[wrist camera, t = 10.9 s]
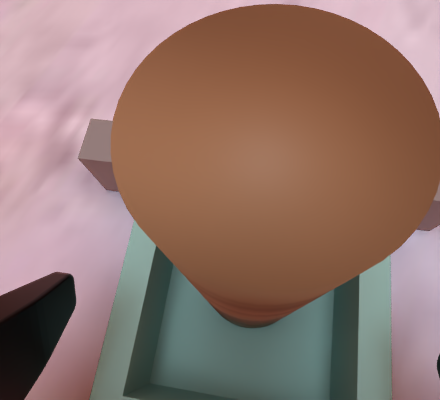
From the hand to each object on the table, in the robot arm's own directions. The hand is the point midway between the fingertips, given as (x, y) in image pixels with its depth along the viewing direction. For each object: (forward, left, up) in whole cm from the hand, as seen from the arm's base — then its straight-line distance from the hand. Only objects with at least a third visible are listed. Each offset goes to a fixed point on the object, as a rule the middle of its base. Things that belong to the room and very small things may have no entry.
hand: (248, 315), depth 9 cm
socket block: (0, +1, -8) cm, 8 cm away
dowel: (+1, +2, -7) cm, 7 cm away
